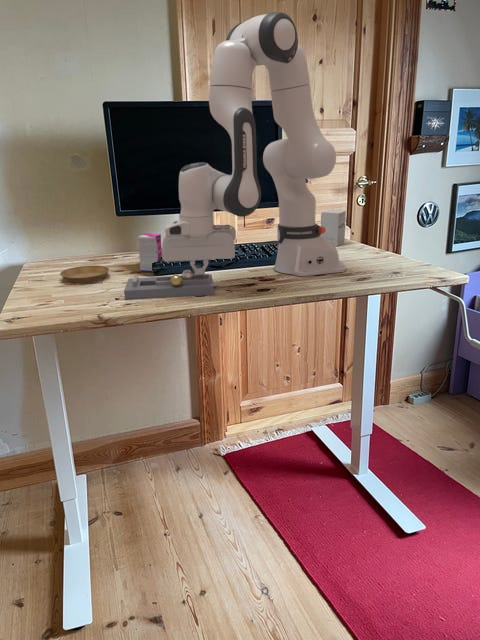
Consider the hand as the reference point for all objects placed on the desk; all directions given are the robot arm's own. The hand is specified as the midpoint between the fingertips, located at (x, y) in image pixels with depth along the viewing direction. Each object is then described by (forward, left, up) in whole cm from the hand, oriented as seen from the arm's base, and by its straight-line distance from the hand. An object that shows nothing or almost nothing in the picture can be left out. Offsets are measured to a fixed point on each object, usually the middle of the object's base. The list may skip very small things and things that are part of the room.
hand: (199, 275), depth 140 cm
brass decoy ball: (+6, +4, 0) cm, 8 cm away
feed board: (+8, 0, -4) cm, 9 cm away
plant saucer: (+35, -18, -5) cm, 40 cm away
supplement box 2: (-52, -49, -4) cm, 72 cm away
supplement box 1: (+15, -24, -4) cm, 29 cm away
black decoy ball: (0, -5, 0) cm, 5 cm away
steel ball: (+3, 0, 0) cm, 4 cm away
